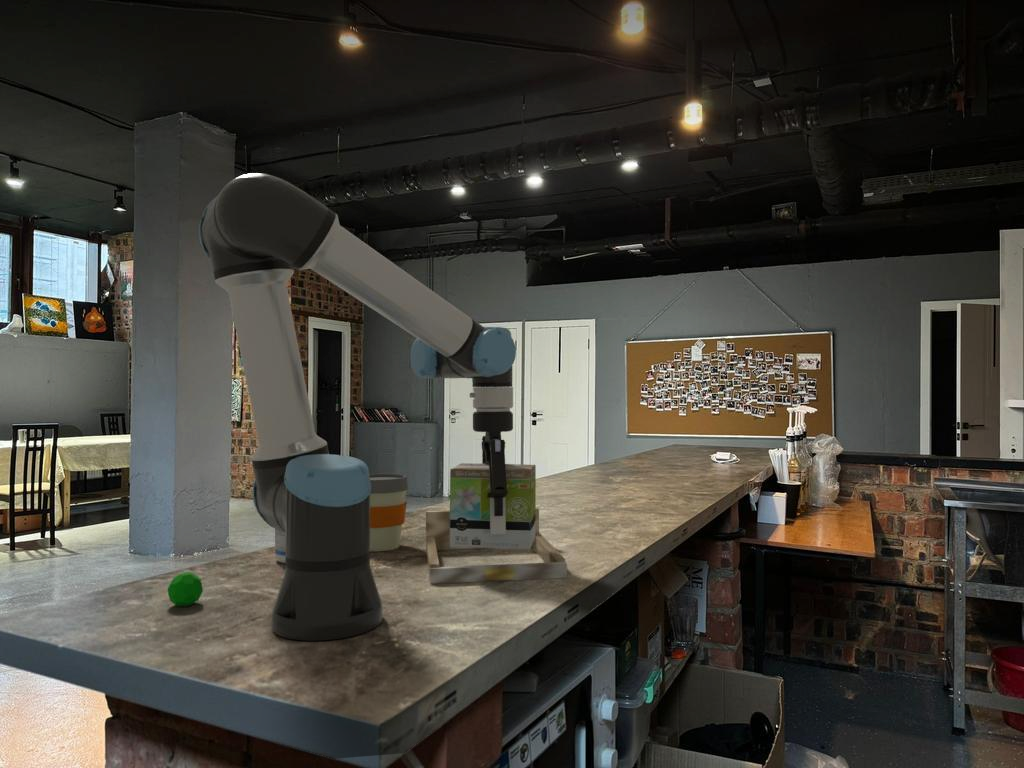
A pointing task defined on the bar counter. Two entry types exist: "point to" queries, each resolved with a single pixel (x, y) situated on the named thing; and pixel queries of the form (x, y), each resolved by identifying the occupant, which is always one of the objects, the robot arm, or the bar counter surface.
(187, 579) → the polyhedron
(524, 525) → the tea box
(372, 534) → the reusable coffee cup
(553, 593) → the bar counter surface
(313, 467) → the robot arm
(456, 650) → the bar counter surface
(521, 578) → the open wooden storage bin
